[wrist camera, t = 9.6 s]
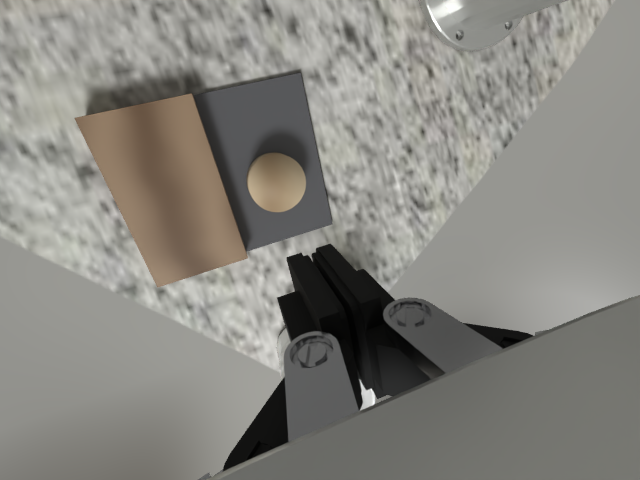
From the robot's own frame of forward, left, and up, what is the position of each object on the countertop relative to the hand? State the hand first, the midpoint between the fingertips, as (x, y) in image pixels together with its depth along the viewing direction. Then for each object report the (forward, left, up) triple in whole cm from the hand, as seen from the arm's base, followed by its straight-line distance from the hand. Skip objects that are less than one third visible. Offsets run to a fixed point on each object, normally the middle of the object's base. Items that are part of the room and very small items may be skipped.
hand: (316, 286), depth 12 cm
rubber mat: (-2, -1, -20) cm, 20 cm away
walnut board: (+7, -1, -20) cm, 21 cm away
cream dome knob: (-2, 0, -19) cm, 19 cm away
